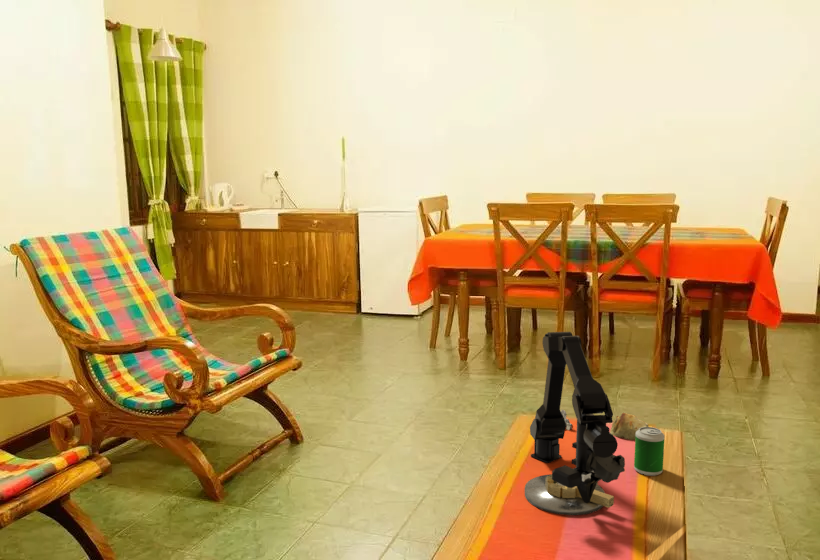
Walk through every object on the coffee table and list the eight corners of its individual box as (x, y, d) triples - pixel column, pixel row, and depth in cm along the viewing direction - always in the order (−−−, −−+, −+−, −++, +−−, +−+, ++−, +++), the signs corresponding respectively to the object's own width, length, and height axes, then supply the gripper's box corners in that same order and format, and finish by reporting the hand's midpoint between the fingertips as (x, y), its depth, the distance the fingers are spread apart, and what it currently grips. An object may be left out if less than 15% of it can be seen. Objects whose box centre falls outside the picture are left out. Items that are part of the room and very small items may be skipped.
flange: (508, 494, 180) (508, 477, 179) (557, 472, 193) (558, 457, 192) (572, 523, 165) (573, 505, 164) (621, 498, 178) (622, 481, 177)
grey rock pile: (568, 443, 215) (569, 419, 213) (546, 435, 221) (547, 411, 220) (586, 436, 220) (587, 412, 219) (564, 428, 227) (565, 405, 226)
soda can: (664, 479, 188) (666, 436, 187) (635, 477, 190) (637, 434, 188) (660, 468, 196) (662, 426, 194) (632, 465, 197) (634, 424, 195)
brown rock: (601, 432, 223) (602, 408, 222) (637, 429, 226) (638, 405, 224) (623, 449, 209) (624, 423, 208) (661, 445, 212) (662, 420, 211)
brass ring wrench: (539, 489, 178) (539, 477, 178) (559, 478, 185) (559, 467, 184) (601, 513, 166) (601, 500, 166) (620, 500, 173) (621, 487, 172)
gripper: (588, 461, 155) (586, 527, 157) (642, 442, 166) (639, 504, 168) (551, 445, 164) (549, 508, 166) (604, 428, 175) (601, 487, 177)
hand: (586, 502), depth 169 cm, fingers closed
